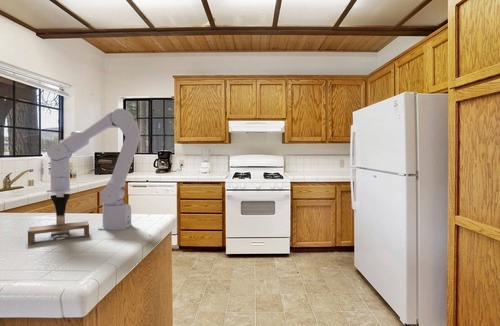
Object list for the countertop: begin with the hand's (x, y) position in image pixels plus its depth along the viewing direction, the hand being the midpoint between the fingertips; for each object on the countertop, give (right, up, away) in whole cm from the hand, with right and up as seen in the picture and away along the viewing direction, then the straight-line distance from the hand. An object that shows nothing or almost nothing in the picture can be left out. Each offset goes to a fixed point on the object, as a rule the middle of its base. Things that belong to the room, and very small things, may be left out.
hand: (60, 214), depth 103 cm
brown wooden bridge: (+7, -6, -11) cm, 15 cm away
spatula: (+2, -5, -3) cm, 7 cm away
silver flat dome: (+7, -6, -11) cm, 15 cm away
